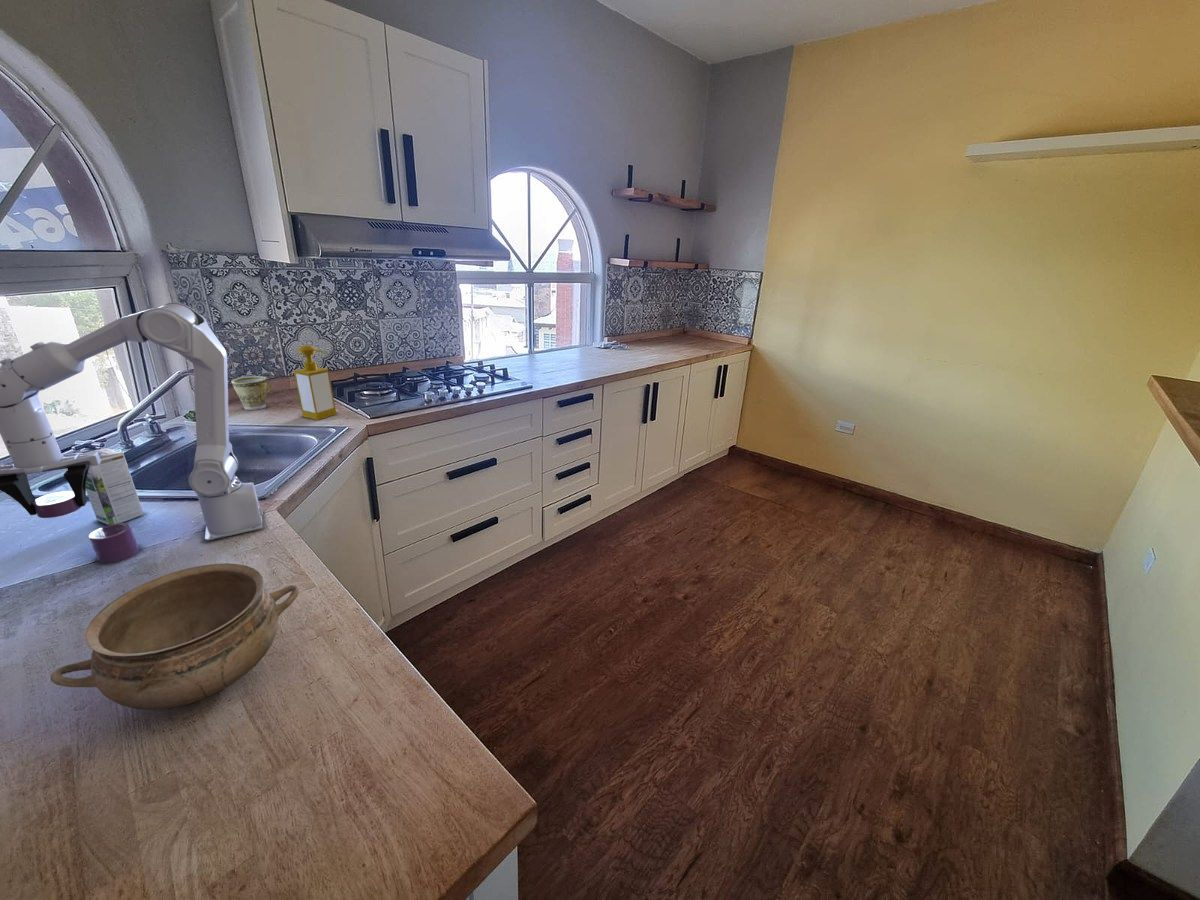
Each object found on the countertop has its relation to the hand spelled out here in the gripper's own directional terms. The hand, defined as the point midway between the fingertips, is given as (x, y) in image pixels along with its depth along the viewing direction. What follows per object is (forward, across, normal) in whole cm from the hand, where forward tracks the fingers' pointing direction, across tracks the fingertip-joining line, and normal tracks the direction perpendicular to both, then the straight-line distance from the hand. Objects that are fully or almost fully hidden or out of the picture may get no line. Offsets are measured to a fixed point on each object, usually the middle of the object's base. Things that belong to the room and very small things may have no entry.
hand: (59, 508), depth 89 cm
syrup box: (+10, +4, +12) cm, 16 cm away
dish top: (0, 0, 0) cm, 0 cm away
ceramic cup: (+9, +30, +86) cm, 92 cm away
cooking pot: (+9, +21, -48) cm, 53 cm away
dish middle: (+7, +6, -4) cm, 10 cm away
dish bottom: (+9, +6, -4) cm, 12 cm away
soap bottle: (+9, +49, +65) cm, 82 cm away
